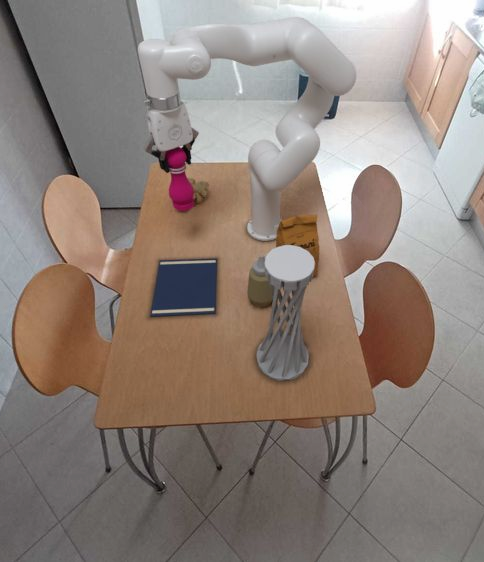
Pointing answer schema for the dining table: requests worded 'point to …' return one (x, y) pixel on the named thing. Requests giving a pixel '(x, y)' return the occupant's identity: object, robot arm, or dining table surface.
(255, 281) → the squeeze bottle
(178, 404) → the dining table surface
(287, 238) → the coffee package
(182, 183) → the pepper mill
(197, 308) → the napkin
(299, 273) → the twisted lattice pedestal
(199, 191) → the ginger root
